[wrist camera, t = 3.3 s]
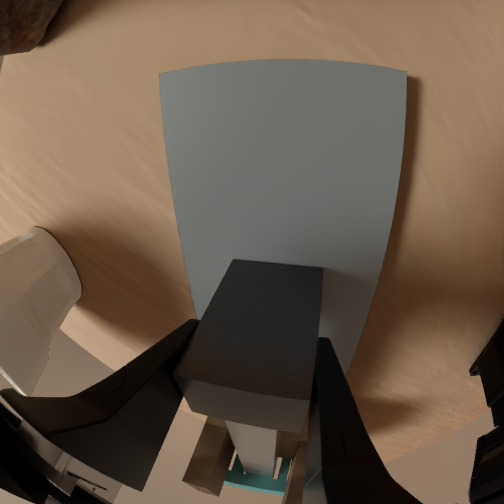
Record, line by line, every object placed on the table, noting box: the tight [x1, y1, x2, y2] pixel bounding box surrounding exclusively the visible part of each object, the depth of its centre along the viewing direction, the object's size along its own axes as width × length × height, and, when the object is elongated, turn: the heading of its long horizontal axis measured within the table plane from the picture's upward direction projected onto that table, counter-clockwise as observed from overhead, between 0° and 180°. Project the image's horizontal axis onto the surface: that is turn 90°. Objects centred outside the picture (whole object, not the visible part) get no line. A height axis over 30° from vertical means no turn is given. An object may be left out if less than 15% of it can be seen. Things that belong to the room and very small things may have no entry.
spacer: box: [223, 454, 291, 495], centre depth 20 cm, size 8×3×5 cm, turn 92°
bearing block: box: [182, 406, 309, 504], centre depth 18 cm, size 9×6×10 cm, turn 92°
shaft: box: [173, 259, 324, 479], centre depth 16 cm, size 4×23×7 cm, turn 3°
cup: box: [0, 227, 81, 397], centre depth 16 cm, size 12×12×11 cm
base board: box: [159, 59, 407, 377], centre depth 18 cm, size 10×33×1 cm, turn 2°
